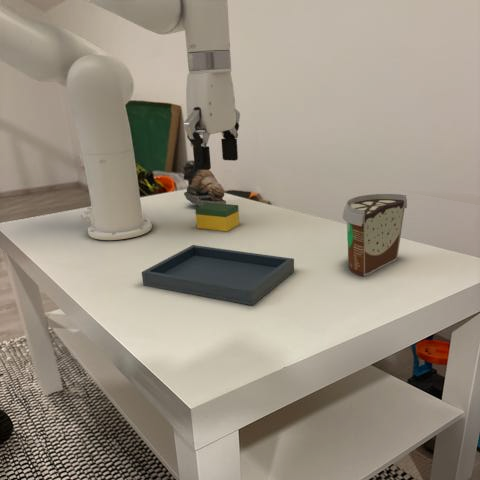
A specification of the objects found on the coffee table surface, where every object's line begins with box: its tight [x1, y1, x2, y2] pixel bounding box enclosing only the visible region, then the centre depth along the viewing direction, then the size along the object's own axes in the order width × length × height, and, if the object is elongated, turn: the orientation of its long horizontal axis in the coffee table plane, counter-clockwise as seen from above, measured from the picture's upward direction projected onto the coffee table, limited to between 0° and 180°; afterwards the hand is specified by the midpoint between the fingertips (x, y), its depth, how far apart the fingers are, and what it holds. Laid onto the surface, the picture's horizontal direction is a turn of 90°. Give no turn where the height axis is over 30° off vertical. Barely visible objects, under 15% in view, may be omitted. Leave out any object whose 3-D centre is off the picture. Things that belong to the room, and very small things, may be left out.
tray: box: [141, 244, 295, 306], centre depth 77 cm, size 19×14×2 cm
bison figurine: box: [182, 159, 227, 207], centre depth 115 cm, size 12×7×10 cm, turn 39°
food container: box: [342, 193, 408, 278], centre depth 78 cm, size 12×6×10 cm, turn 134°
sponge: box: [194, 203, 240, 232], centre depth 102 cm, size 7×5×4 cm
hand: (217, 164), depth 97 cm, fingers open, 9 cm apart
